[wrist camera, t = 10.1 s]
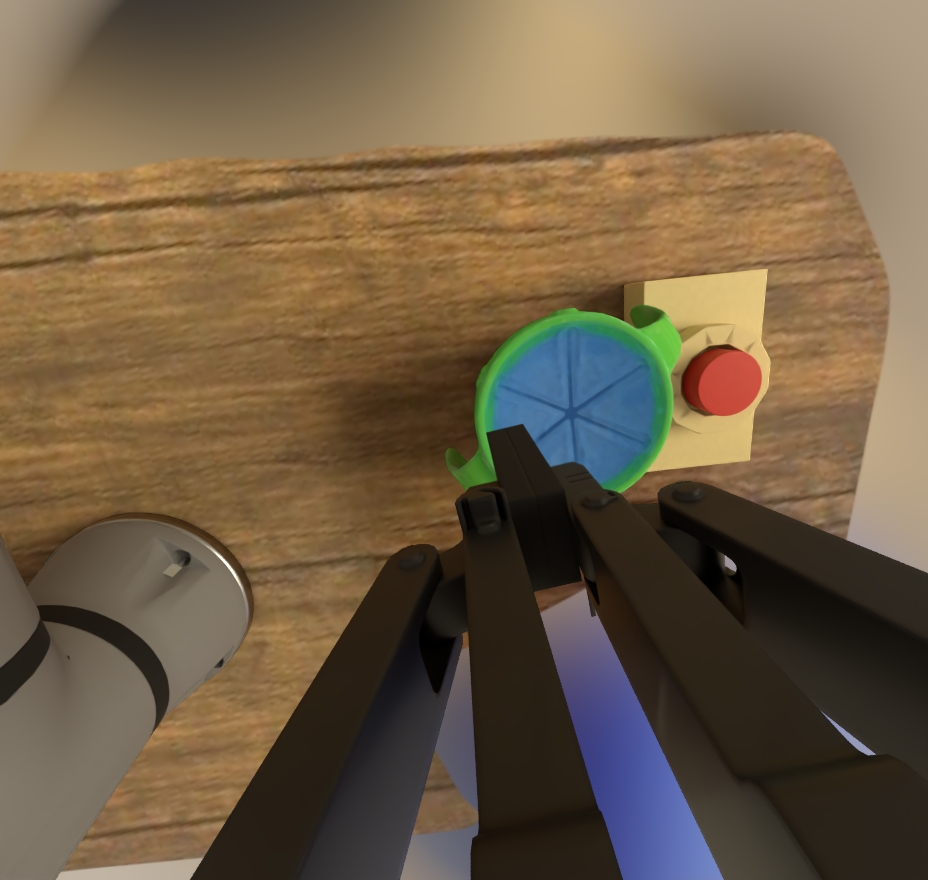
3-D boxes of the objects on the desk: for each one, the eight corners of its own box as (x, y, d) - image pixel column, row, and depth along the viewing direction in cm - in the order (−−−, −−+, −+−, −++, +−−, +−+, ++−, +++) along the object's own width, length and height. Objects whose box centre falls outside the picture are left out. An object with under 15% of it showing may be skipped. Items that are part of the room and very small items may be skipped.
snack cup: (597, 261, 30) (672, 236, 20) (658, 389, 33) (750, 422, 23) (407, 380, 32) (392, 411, 22) (481, 493, 34) (497, 564, 25)
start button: (740, 406, 29) (759, 412, 27) (681, 413, 29) (696, 419, 27) (745, 345, 27) (765, 347, 26) (684, 352, 27) (699, 354, 26)
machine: (722, 447, 34) (767, 469, 30) (622, 458, 34) (652, 482, 29) (735, 272, 31) (790, 265, 26) (623, 284, 30) (657, 279, 26)
